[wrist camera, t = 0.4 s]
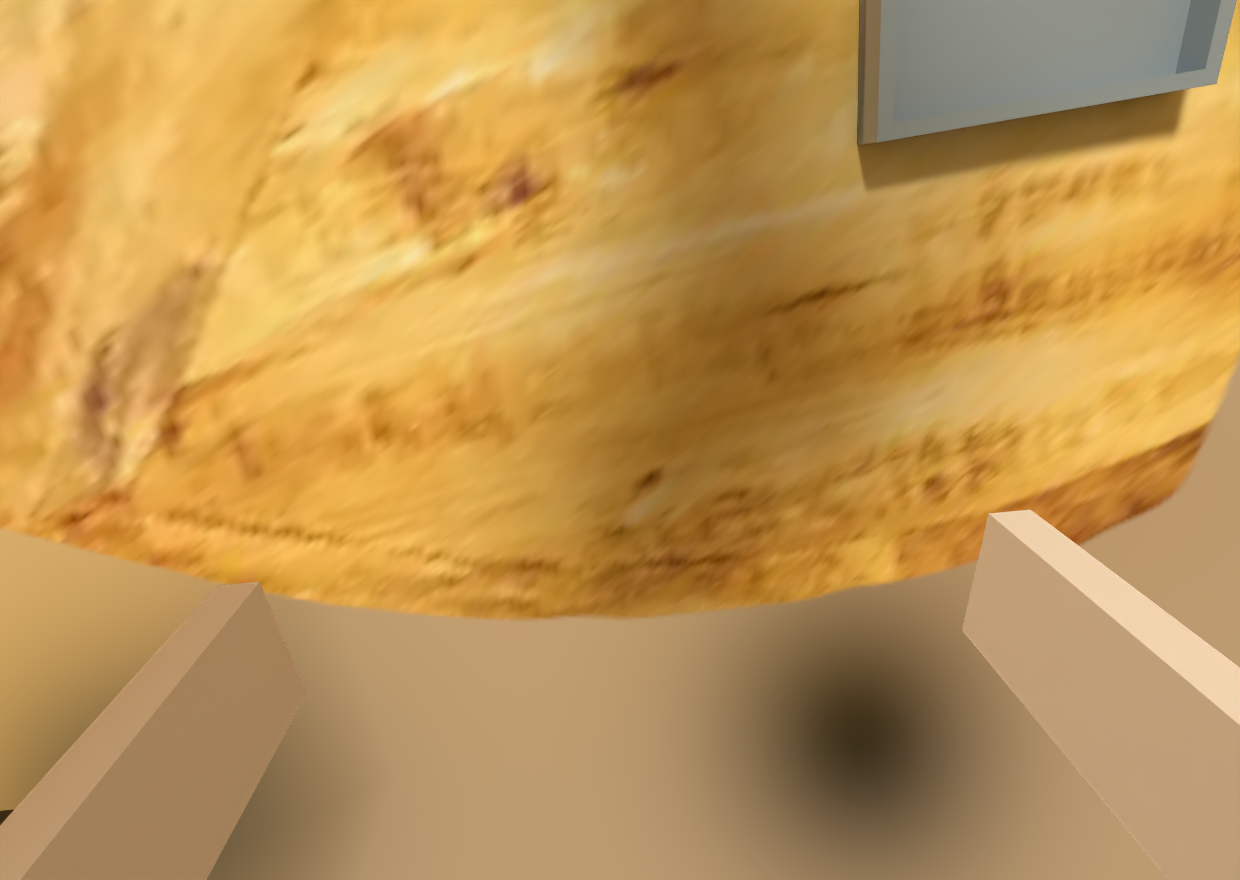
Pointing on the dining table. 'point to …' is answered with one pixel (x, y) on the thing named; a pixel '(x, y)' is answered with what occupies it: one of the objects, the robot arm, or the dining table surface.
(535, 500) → the dining table surface
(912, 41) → the tray
